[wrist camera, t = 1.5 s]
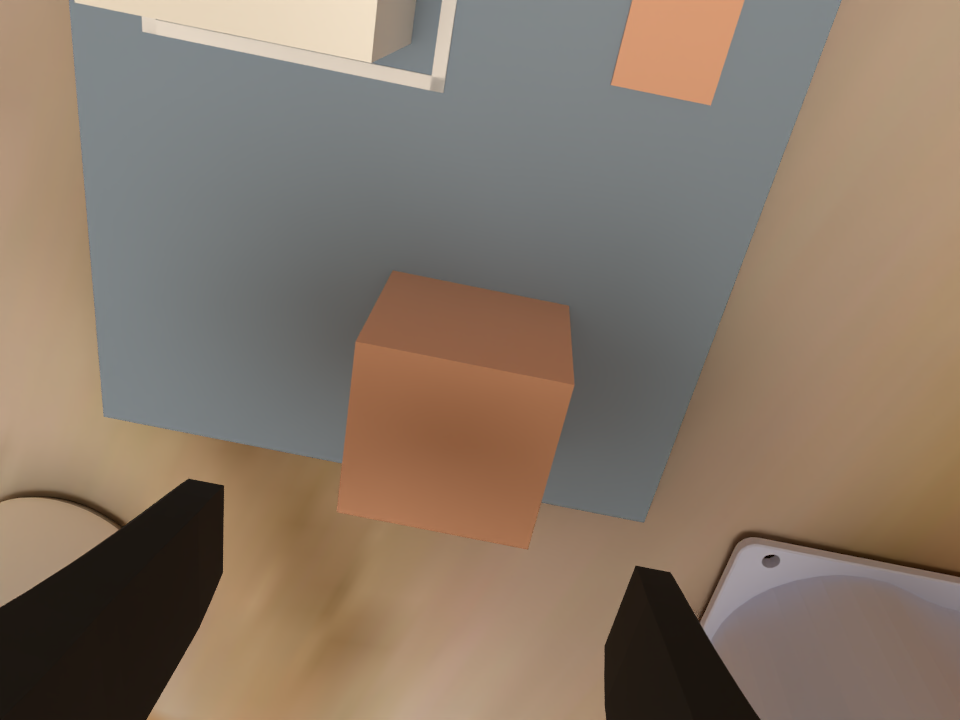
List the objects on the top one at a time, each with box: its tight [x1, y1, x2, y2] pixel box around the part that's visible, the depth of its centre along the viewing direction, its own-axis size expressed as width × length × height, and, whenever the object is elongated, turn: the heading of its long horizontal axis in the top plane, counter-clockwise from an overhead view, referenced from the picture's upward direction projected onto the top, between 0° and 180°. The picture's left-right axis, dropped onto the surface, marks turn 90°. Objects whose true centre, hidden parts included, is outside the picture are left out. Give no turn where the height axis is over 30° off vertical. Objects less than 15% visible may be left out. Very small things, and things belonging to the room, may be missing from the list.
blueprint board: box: [69, 0, 841, 523], centre depth 17 cm, size 16×18×1 cm
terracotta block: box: [337, 271, 574, 549], centre depth 17 cm, size 4×4×4 cm
